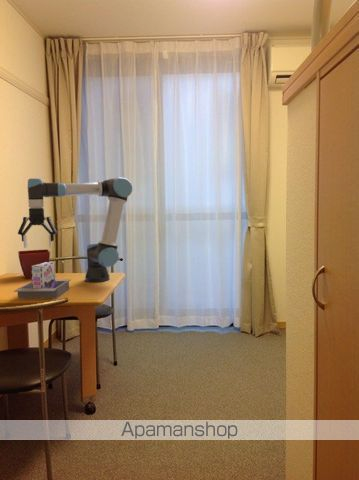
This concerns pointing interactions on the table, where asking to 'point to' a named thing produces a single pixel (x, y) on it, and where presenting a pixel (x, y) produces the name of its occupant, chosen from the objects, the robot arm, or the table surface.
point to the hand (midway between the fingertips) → (38, 247)
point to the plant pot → (32, 260)
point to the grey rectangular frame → (44, 290)
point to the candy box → (43, 275)
